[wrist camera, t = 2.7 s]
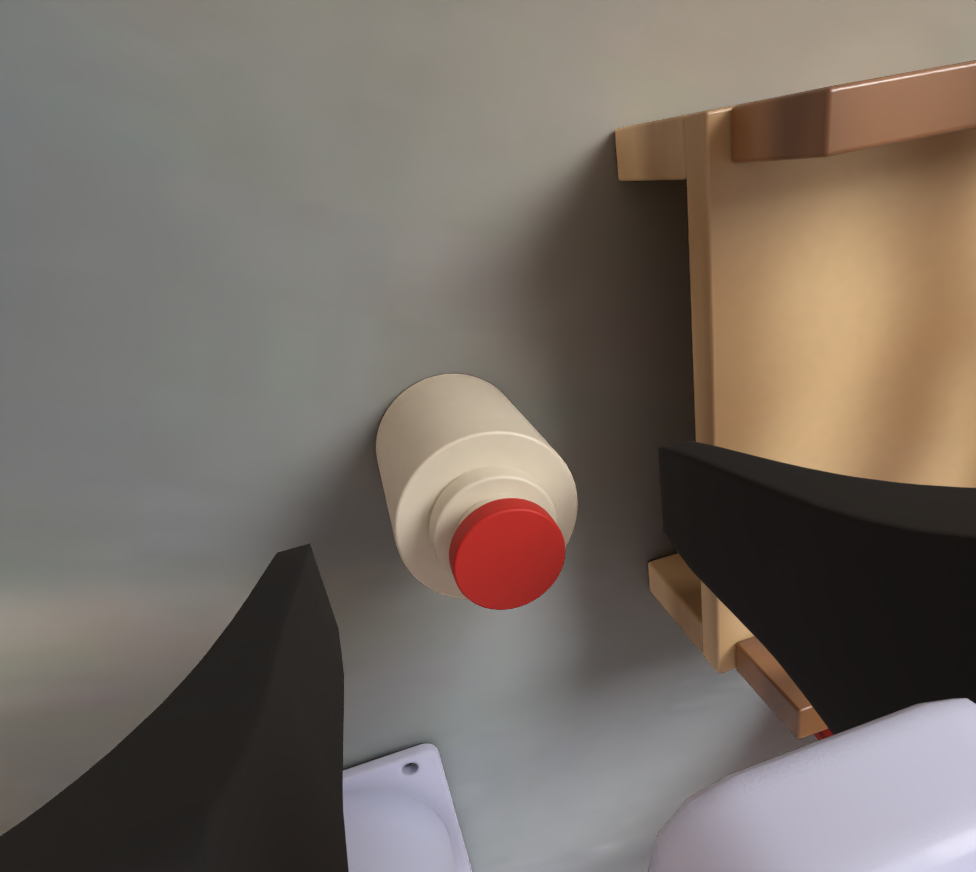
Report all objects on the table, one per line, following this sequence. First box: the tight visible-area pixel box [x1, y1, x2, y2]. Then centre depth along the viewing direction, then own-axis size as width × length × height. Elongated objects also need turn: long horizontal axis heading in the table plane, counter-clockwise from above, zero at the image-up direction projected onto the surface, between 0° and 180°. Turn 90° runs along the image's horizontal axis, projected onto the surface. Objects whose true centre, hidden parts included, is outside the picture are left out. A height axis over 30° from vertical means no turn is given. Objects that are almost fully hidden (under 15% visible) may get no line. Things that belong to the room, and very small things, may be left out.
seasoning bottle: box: [376, 374, 578, 610], centre depth 14 cm, size 4×4×6 cm
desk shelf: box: [615, 60, 976, 739], centre depth 16 cm, size 10×14×6 cm
